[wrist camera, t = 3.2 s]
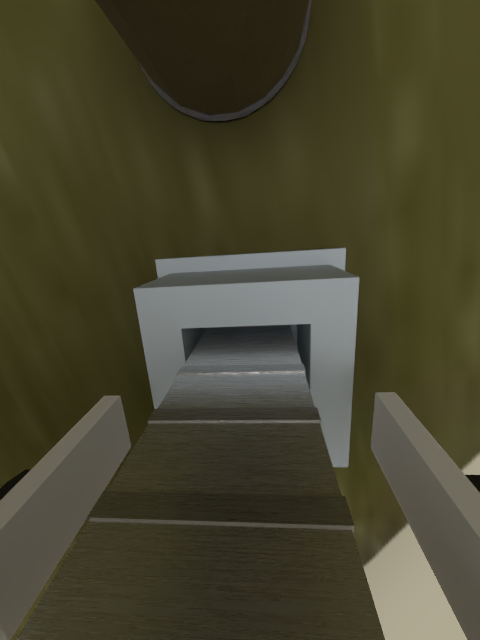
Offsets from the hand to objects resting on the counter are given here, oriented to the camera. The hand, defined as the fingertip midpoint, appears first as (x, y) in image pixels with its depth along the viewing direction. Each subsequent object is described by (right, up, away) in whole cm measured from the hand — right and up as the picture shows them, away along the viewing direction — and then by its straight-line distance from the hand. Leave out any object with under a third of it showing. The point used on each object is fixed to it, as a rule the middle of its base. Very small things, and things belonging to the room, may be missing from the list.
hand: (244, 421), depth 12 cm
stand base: (+1, +3, +10) cm, 10 cm away
